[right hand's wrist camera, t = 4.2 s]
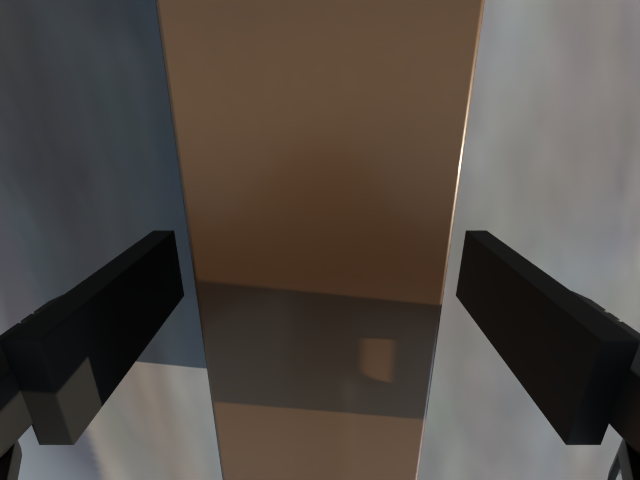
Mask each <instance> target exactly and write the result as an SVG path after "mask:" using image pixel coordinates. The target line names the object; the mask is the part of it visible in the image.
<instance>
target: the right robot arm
mask: <svg viewBox="0 0 640 480" xmlns="http://www.w3.org/2000/svg"><path fill="white" fill-rule="evenodd" d="M183 296H184V292H183V285H182V279H181V273H180V266H179V260H178V253H177V247H176V241H175V234H174V231H152V232H151V233H150V234H148V235H147V236H145V237H144V238H143V239H141V240H140V241H138V242H137V243H136V244H134V245H133V246H131V247H130V248H129V249H127V250H126V251H124V252H123V253H122V254H120V255H119V256H117V257H116V258H115V259H113V260H112V261H110V262H109V263H108V264H106V265H105V266H103V267H102V268H101V269H99V270H98V271H96V272H95V273H94V274H92V275H91V276H90V277H88V278H87V279H85V280H84V281H83V282H81V283H80V284H78V285H77V286H76V287H74V288H73V289H71V290H70V291H69V292H67V293H66V294H64V295H62V296H59V297H57V298H55V299H53V300H51V301H49V302H47V303H46V304H44V305H43V306H42V307H40V308H39V309H37V310H36V311H34V314H30V315H29V316H27V317H26V318H24V319H23V320H22V321H21V323H17V324H16V325H15V326H13V327H12V328H10V329H9V330H7V331H6V332H5V333H3V334H2V335H0V480H18V475H19V469H20V464H21V458H22V452H21V447H20V444H19V442H18V439H19V438H20V437H21V436H22V434H23V433H24V432H25V431H26V430H27V429H28V428H29V427H30V426H31V425H32V427H33V429H34V432H35V435H36V437H37V440H38V442H39V445H74V444H75V443H76V441H77V440H78V439H79V437H80V436H81V435H82V433H83V432H84V430H85V429H86V428H87V426H88V425H89V424H90V422H91V421H92V420H93V418H94V417H95V416H96V414H97V413H98V412H99V410H100V409H101V407H102V406H103V405H104V403H105V402H106V401H107V399H108V398H109V397H110V395H111V394H112V393H113V391H114V390H115V388H116V387H117V386H118V384H119V383H120V382H121V380H122V379H123V378H124V376H125V375H126V374H127V372H128V371H129V369H130V368H131V367H132V365H133V364H134V363H135V361H136V360H137V359H138V357H139V356H140V355H141V353H142V352H143V351H144V349H145V348H146V346H147V345H148V344H149V342H150V341H151V340H152V338H153V337H154V336H155V334H156V333H157V332H158V330H159V329H160V327H161V326H162V325H163V323H164V322H165V321H166V319H167V318H168V317H169V315H170V314H171V313H172V311H173V310H174V309H175V307H176V306H177V304H178V303H179V302H180V300H181V299H182V298H183ZM456 296H457V298H458V299H459V300H460V302H461V303H462V304H463V306H464V307H465V309H466V310H467V311H468V313H469V314H470V315H471V317H472V318H473V319H474V321H475V322H476V323H477V325H478V326H479V327H480V329H481V330H482V332H483V333H484V334H485V336H486V337H487V338H488V340H489V341H490V342H491V344H492V345H493V346H494V348H495V349H496V351H497V352H498V353H499V355H500V356H501V357H502V359H503V360H504V361H505V363H506V364H507V365H508V367H509V368H510V370H511V371H512V372H513V374H514V375H515V376H516V378H517V379H518V380H519V382H520V383H521V384H522V386H523V387H524V388H525V390H526V391H527V393H528V394H529V395H530V397H531V398H532V399H533V401H534V402H535V403H536V405H537V406H538V407H539V409H540V410H541V412H542V413H543V414H544V416H545V417H546V418H547V420H548V421H549V422H550V424H551V425H552V426H553V428H554V429H555V431H556V432H557V433H558V435H559V436H560V437H561V439H562V440H563V441H564V443H565V444H566V445H601V442H602V440H603V437H604V435H605V432H606V429H607V427H608V424H610V425H611V426H612V427H613V428H614V429H615V430H616V431H617V432H618V433H619V435H620V436H621V437H622V438H623V440H622V442H621V444H620V447H619V449H618V452H617V454H616V456H615V459H614V461H613V464H612V466H611V468H610V471H609V475H608V480H615V479H616V477H617V475H618V474H622V479H623V480H640V333H638V332H637V331H635V330H634V329H632V328H631V327H630V326H628V325H627V324H625V323H624V322H620V321H619V319H618V318H617V317H615V316H614V315H612V314H611V313H607V312H606V310H605V309H604V308H602V307H601V306H599V305H598V304H596V303H595V302H594V301H592V300H591V299H588V298H586V297H584V296H582V295H579V294H577V293H575V292H573V291H570V290H569V289H567V288H566V287H564V286H563V285H562V284H560V283H559V282H557V281H556V280H555V279H553V278H552V277H550V276H549V275H548V274H546V273H545V272H543V271H542V270H541V269H539V268H538V267H537V266H535V265H534V264H532V263H531V262H530V261H528V260H527V259H525V258H524V257H523V256H521V255H520V254H518V253H517V252H516V251H514V250H513V249H511V248H510V247H509V246H507V245H506V244H504V243H503V242H502V241H500V240H499V239H497V238H496V237H495V236H493V235H492V234H490V233H489V232H488V231H466V234H465V240H464V247H463V253H462V260H461V266H460V273H459V279H458V285H457V292H456Z"/></svg>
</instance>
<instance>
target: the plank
mask: <svg viewBox="0 0 640 480" xmlns="http://www.w3.org/2000/svg"><path fill="white" fill-rule="evenodd" d="M155 1H156V8H157V15H158V23H159V30H160V37H161V44H162V51H163V58H164V65H165V72H166V80H167V87H168V94H169V101H170V108H171V115H172V122H173V129H174V136H175V144H176V151H177V158H178V165H179V172H180V179H181V186H182V193H183V201H184V208H185V215H186V222H187V229H188V236H189V243H190V250H191V258H192V265H193V272H194V279H195V286H196V293H197V300H198V307H199V314H200V322H201V329H202V336H203V343H204V350H205V357H206V364H207V371H208V379H209V386H210V393H211V400H212V407H213V414H214V421H215V428H216V436H217V443H218V450H219V457H220V464H221V471H222V478H223V480H417V479H418V472H419V465H420V457H421V450H422V443H423V436H424V429H425V422H426V415H427V408H428V400H429V393H430V386H431V379H432V372H433V365H434V358H435V351H436V343H437V336H438V329H439V322H440V315H441V308H442V301H443V294H444V287H445V279H446V272H447V265H448V258H449V251H450V244H451V237H452V230H453V222H454V215H455V208H456V201H457V194H458V187H459V180H460V173H461V165H462V158H463V151H464V144H465V137H466V130H467V123H468V116H469V109H470V101H471V94H472V87H473V80H474V73H475V66H476V59H477V52H478V44H479V37H480V30H481V23H482V16H483V9H484V2H485V0H155Z"/></svg>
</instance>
